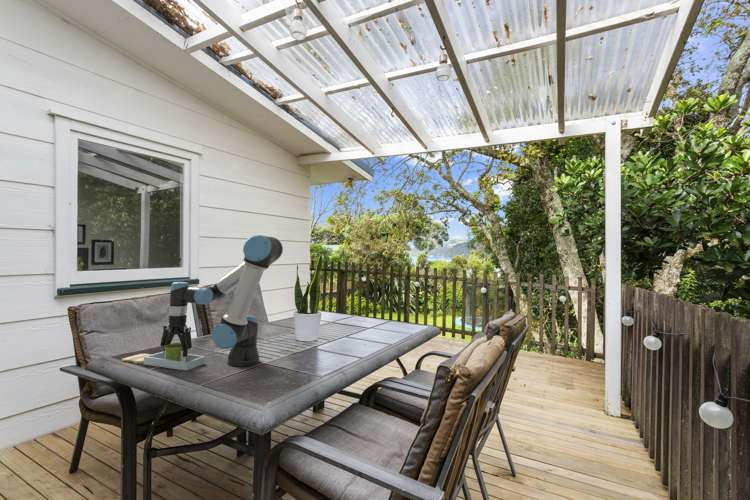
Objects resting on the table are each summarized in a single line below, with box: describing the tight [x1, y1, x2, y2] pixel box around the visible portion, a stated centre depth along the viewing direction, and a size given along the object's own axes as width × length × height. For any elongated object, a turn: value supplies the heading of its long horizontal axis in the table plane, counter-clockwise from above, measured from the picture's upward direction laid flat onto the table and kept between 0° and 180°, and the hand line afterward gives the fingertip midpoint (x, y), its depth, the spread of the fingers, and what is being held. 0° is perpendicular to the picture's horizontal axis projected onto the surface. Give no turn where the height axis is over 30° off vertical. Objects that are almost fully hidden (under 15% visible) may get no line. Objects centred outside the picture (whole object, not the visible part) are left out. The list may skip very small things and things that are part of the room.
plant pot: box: [165, 342, 182, 361], centre depth 175 cm, size 9×9×9 cm
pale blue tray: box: [143, 350, 206, 371], centre depth 175 cm, size 24×12×4 cm, turn 76°
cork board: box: [120, 352, 152, 365], centre depth 180 cm, size 12×12×1 cm
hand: (174, 362), depth 175 cm, fingers closed on plant pot, 8 cm apart
